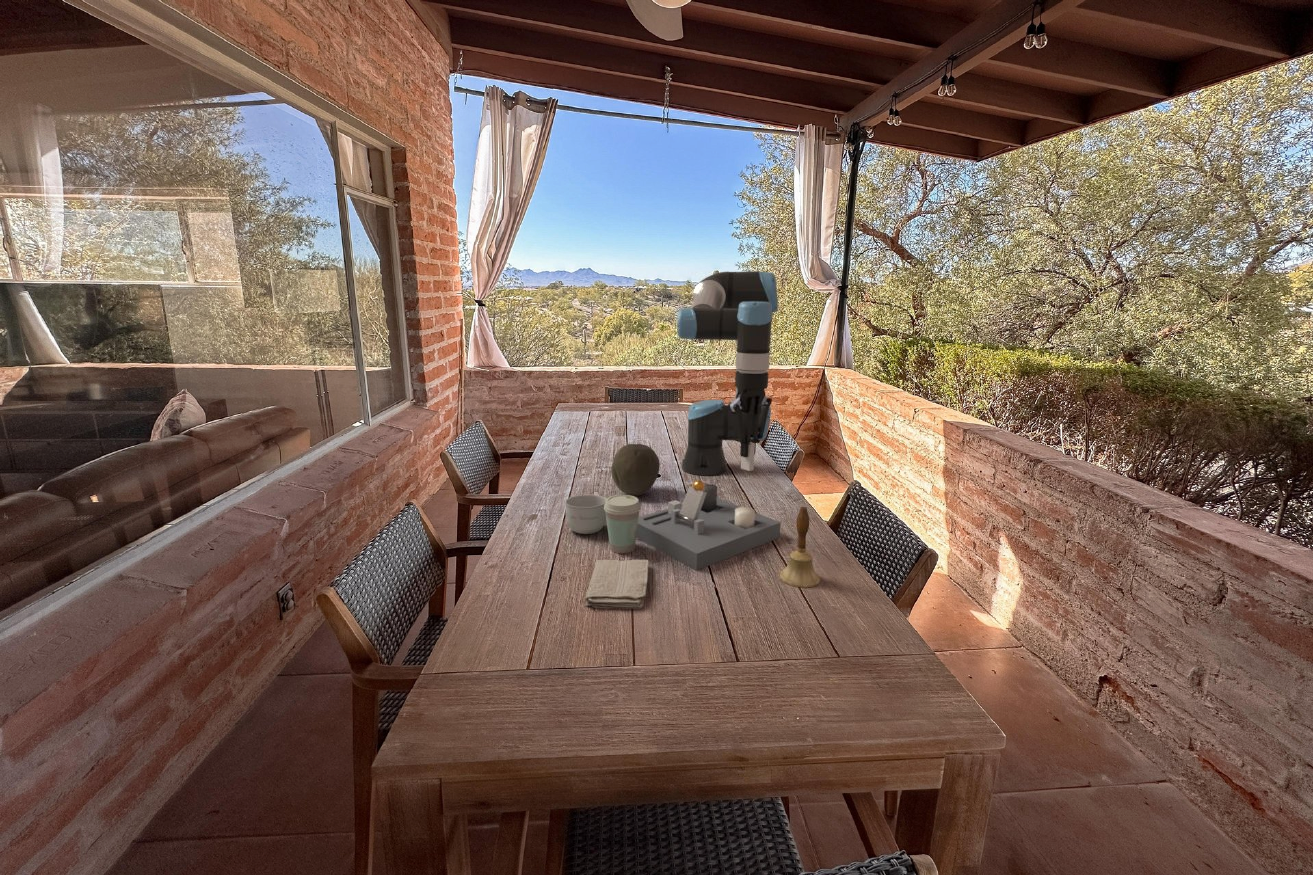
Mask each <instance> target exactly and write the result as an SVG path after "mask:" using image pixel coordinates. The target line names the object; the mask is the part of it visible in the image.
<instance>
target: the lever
mask: <svg viewBox="0 0 1313 875" xmlns="http://www.w3.org/2000/svg"><path fill="white" fill-rule="evenodd" d="M704 484H705V482H704V481H702V480H696V481H694V482H693V484H692V486H690V485H689V486H688V487H687V488H688V489H687V491H686V494H685V496H684V500H683V503H682V504H683V505H682V508H681V511H680V513H678V514H677V517H678V518H680V519H682V520H684V521H686V522H688V523H691V524H693V525H694V521H695V520H697V519H698V516H699V513H700V510H701V508H702V505H703V502H704V499H705V496H706V492H703V490H704V488H705V485H704Z"/></svg>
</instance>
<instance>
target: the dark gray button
mask: <svg viewBox="0 0 1313 875" xmlns="http://www.w3.org/2000/svg"><path fill="white" fill-rule="evenodd" d="M704 485H705V488H704V490H703V492H706V496H705V499H704V502H703V505H702V508H701V510H705V511H712V510H715V509H716V508H717V498H718V486H717V485H715V484H711V483H704Z"/></svg>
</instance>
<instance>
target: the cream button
mask: <svg viewBox="0 0 1313 875" xmlns="http://www.w3.org/2000/svg"><path fill="white" fill-rule="evenodd" d="M755 513H756V511H755V509H753V508H752V507H746V506H740V507H739V508H736V509H735V523H734V525H736V526H739V527H741V528H743V529H747V528H750V527H753V526H754V520H755Z"/></svg>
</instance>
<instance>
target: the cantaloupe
mask: <svg viewBox="0 0 1313 875" xmlns="http://www.w3.org/2000/svg"><path fill="white" fill-rule="evenodd" d="M660 465H661V464H660V459H659V457H658V455H657V453H656V452H655V451H654V449H653V448H652V447H650V446H649V445H646V444H642V443H628V444H625V445H623V446H622V447H621V448H619V449H618V450H617V452H615V455H614V456H613V460H612V464H611V477H612V480H613V482H614V484H615V485H616V488H618V490H619V491H620V492H622V493H623V494H625V495H631V496H634V497H639V496H642V495H643V494H645V493H646V492H648V491H649V490H650V489H652V487H653V486H654V484H655V482H656V481H657V479H658V476H659V472H660V468H661V467H660Z"/></svg>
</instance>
